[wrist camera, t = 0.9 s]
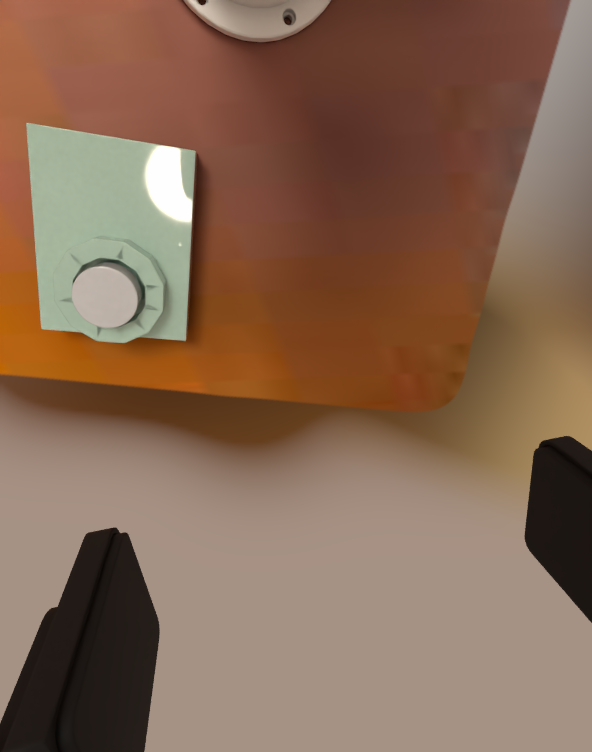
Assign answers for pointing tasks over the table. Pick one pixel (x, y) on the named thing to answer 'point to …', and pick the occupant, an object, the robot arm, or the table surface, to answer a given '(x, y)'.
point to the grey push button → (106, 295)
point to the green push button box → (112, 226)
